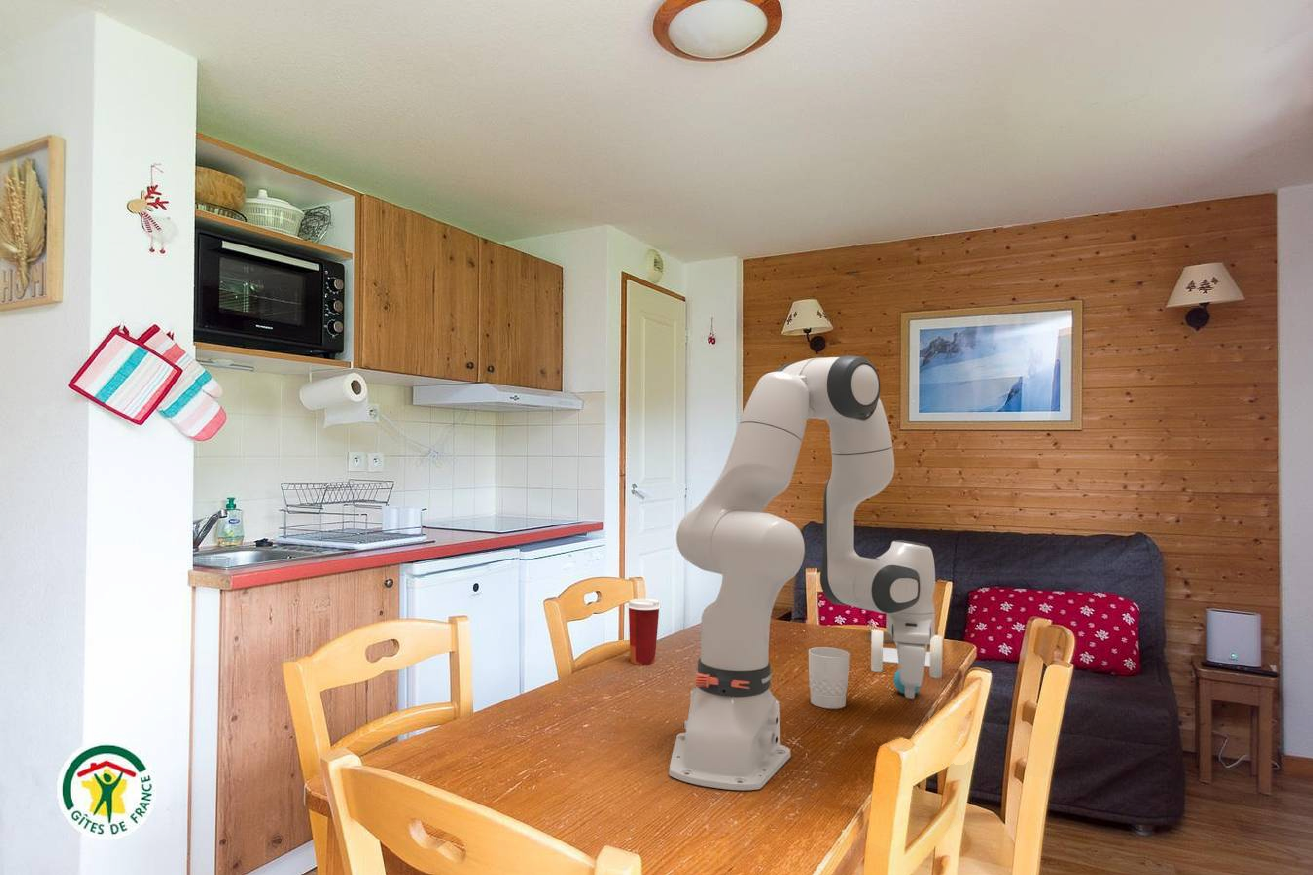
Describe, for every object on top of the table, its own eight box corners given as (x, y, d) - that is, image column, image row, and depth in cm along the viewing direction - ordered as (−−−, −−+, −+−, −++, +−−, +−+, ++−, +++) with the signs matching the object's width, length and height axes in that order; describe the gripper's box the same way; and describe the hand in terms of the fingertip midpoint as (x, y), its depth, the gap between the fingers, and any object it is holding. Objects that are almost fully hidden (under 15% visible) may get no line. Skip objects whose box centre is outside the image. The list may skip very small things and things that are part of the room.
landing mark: (936, 667, 175) (936, 666, 175) (874, 661, 180) (874, 660, 180) (933, 653, 189) (933, 652, 189) (875, 647, 193) (875, 646, 193)
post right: (942, 678, 166) (942, 637, 167) (929, 677, 167) (930, 636, 167) (941, 675, 169) (942, 635, 169) (929, 674, 170) (929, 634, 170)
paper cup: (665, 661, 175) (667, 600, 175) (647, 668, 168) (649, 605, 169) (637, 655, 179) (639, 596, 179) (618, 662, 173) (620, 601, 173)
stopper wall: (940, 648, 194) (940, 638, 194) (868, 641, 199) (868, 631, 199) (940, 646, 196) (940, 636, 196) (868, 639, 201) (868, 630, 201)
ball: (922, 699, 151) (922, 672, 151) (893, 696, 153) (893, 669, 153) (921, 691, 156) (921, 665, 157) (893, 688, 158) (893, 662, 158)
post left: (882, 672, 170) (883, 632, 170) (870, 671, 171) (871, 631, 171) (882, 669, 173) (883, 630, 173) (871, 668, 173) (871, 628, 174)
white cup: (849, 711, 143) (850, 658, 143) (807, 707, 145) (808, 655, 145) (847, 698, 151) (848, 648, 151) (807, 695, 152) (808, 645, 152)
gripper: (893, 612, 157) (892, 679, 157) (893, 634, 137) (892, 710, 137) (925, 614, 155) (924, 682, 155) (930, 637, 135) (929, 715, 135)
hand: (909, 696), depth 146 cm, fingers closed
